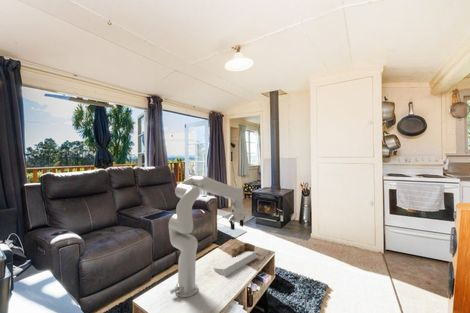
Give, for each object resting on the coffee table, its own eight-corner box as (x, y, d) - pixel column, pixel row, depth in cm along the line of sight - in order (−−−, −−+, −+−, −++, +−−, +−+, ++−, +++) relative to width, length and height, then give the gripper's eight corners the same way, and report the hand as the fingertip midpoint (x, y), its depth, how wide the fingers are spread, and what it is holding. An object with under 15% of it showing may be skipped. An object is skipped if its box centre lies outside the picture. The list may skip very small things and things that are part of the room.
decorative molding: (214, 275, 141) (225, 277, 135) (213, 268, 142) (224, 269, 135) (246, 257, 167) (256, 258, 160) (245, 251, 167) (255, 251, 161)
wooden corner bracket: (240, 260, 156) (240, 252, 156) (232, 256, 161) (232, 249, 161) (254, 252, 169) (254, 245, 169) (245, 249, 174) (246, 242, 174)
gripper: (233, 207, 144) (232, 232, 144) (249, 203, 157) (248, 226, 157) (225, 205, 149) (225, 229, 149) (241, 201, 162) (241, 223, 162)
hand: (237, 227), depth 153 cm, fingers open, 9 cm apart
